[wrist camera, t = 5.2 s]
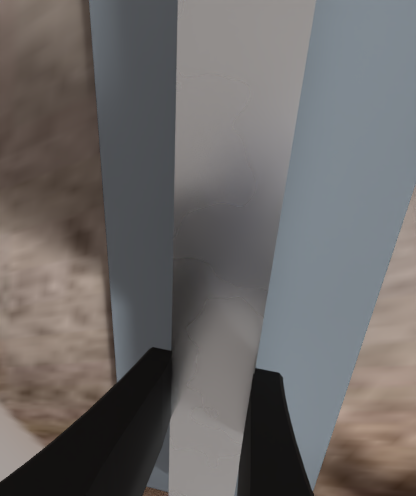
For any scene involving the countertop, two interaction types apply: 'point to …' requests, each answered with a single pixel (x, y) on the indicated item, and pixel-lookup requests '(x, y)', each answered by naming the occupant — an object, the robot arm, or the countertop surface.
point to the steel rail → (226, 217)
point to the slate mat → (294, 202)
